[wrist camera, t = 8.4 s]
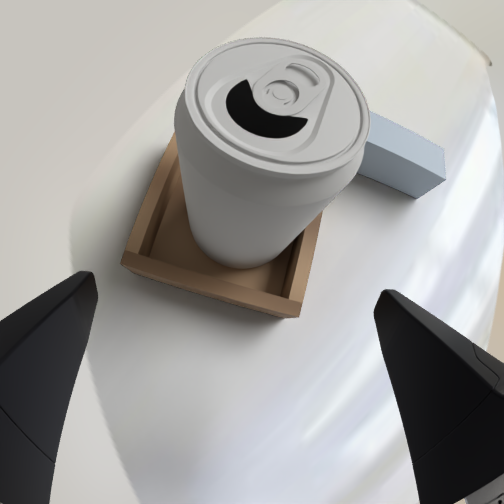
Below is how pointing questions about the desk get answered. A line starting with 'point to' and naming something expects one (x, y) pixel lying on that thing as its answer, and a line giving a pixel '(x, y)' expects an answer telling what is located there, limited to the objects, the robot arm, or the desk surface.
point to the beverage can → (265, 145)
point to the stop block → (401, 158)
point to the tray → (199, 264)
